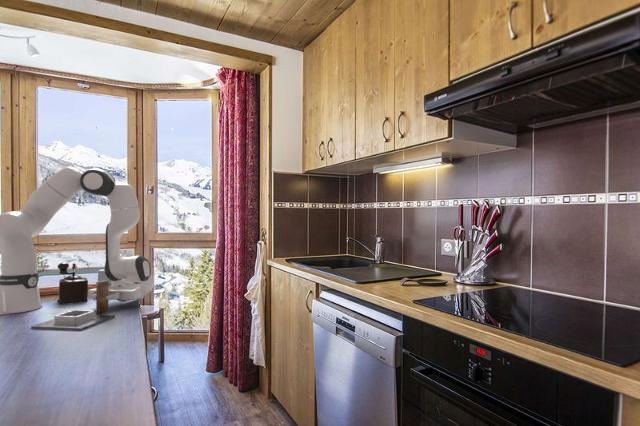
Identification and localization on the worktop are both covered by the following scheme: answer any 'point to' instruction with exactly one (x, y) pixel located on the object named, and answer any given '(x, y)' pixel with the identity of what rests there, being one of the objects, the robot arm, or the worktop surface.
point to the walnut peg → (102, 297)
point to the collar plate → (74, 321)
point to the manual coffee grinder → (72, 286)
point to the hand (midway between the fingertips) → (100, 297)
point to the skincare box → (105, 278)
